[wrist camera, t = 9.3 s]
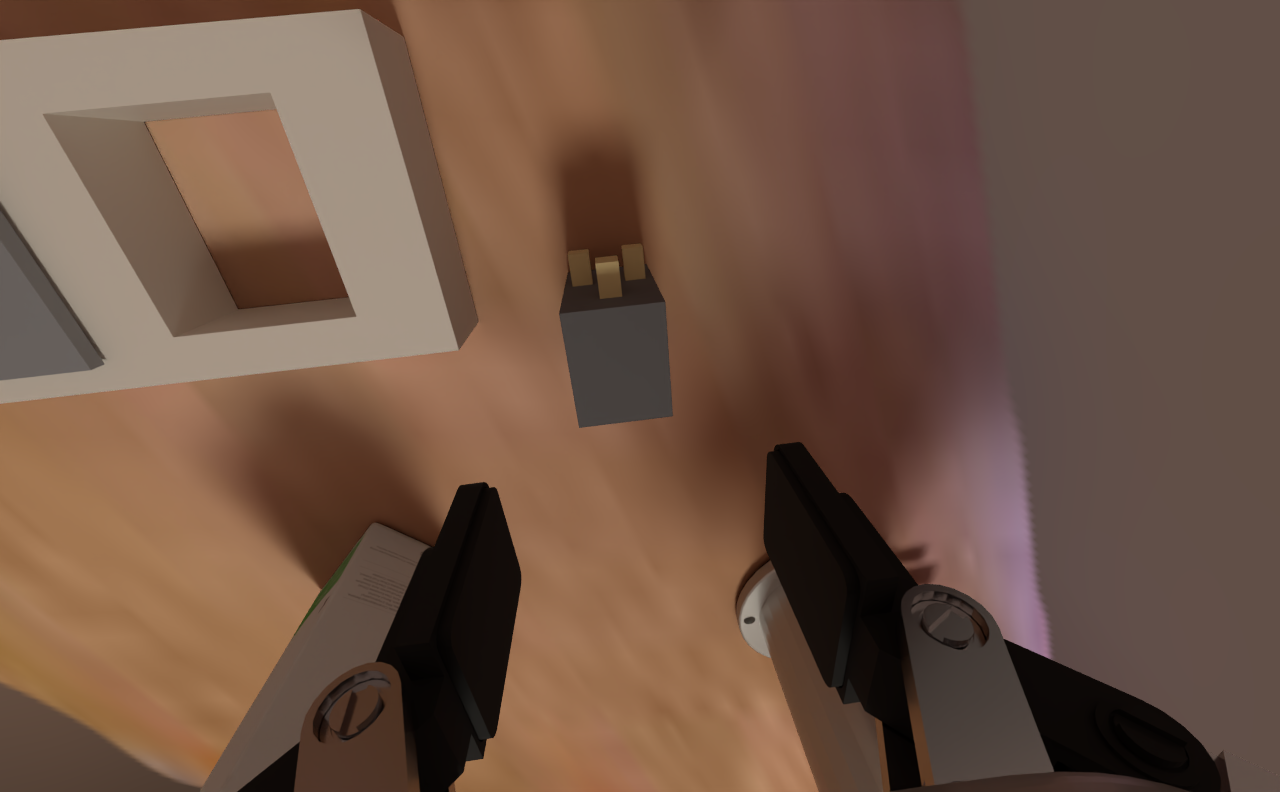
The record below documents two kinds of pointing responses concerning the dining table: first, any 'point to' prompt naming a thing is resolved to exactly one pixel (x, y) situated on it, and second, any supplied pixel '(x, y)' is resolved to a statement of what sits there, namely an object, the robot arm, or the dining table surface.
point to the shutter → (35, 319)
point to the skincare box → (322, 651)
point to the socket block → (163, 228)
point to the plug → (615, 339)
